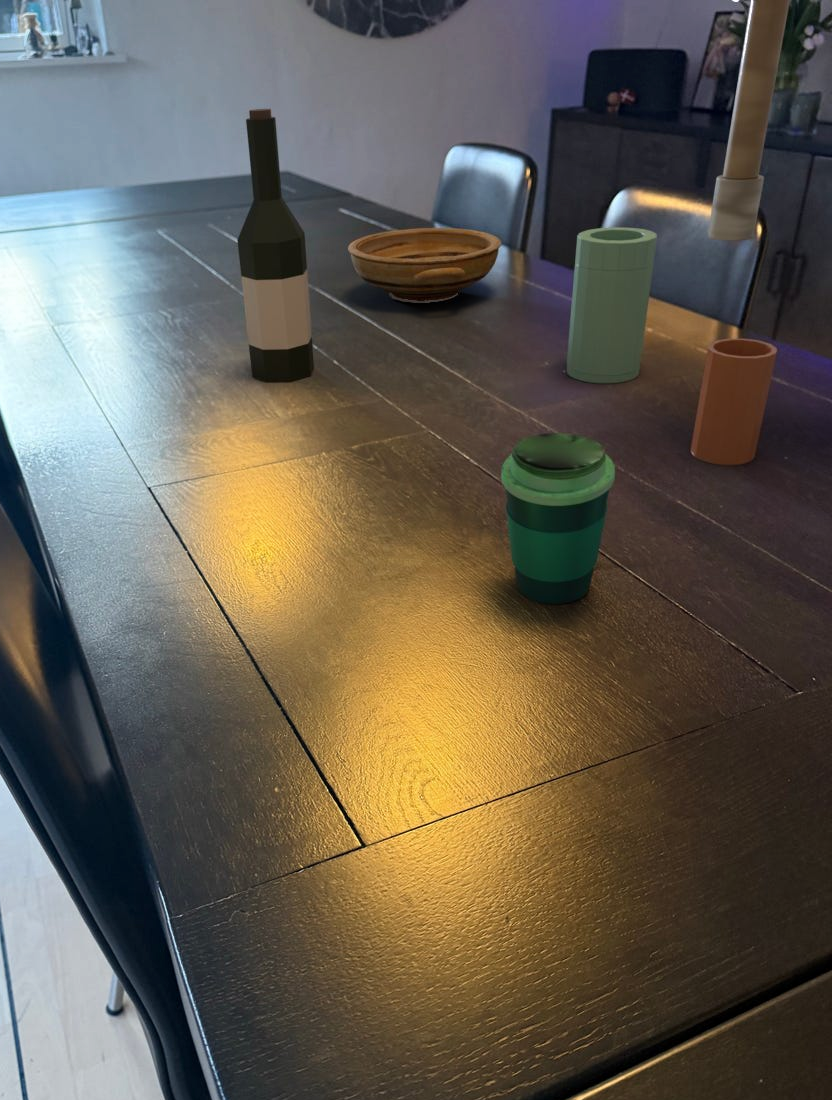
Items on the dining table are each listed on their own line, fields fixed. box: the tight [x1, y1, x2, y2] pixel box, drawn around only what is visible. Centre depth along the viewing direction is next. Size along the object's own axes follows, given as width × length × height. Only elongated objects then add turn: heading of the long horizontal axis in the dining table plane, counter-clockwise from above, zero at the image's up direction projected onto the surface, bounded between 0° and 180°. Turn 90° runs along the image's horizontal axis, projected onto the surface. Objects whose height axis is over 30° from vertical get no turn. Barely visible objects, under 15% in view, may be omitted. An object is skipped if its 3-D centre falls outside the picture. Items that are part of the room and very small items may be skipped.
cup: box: [500, 432, 616, 605], centre depth 70 cm, size 8×8×12 cm
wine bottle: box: [236, 108, 315, 383], centre depth 113 cm, size 8×8×30 cm
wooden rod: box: [707, 0, 791, 242], centre depth 80 cm, size 4×4×22 cm
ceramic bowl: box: [347, 227, 502, 301], centre depth 149 cm, size 30×24×8 cm
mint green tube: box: [566, 226, 658, 384], centre depth 111 cm, size 9×9×16 cm
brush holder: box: [690, 338, 778, 466], centre depth 90 cm, size 6×6×11 cm
